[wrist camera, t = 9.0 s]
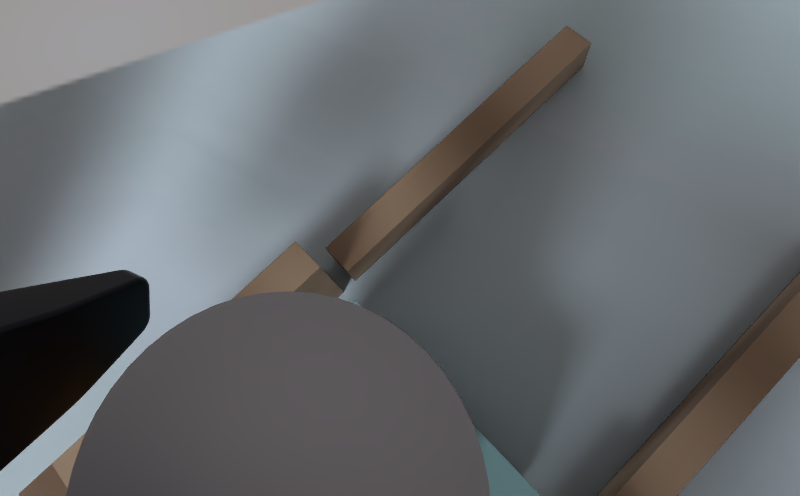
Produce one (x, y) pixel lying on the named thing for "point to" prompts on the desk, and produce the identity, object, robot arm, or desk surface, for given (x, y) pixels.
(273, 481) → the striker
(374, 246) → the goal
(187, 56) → the desk surface
